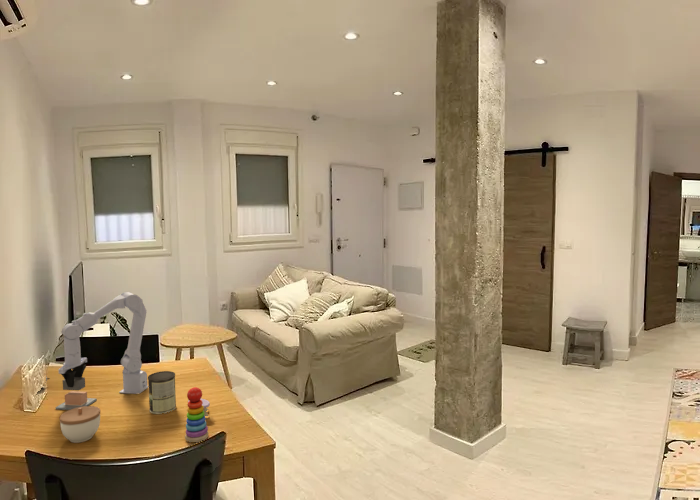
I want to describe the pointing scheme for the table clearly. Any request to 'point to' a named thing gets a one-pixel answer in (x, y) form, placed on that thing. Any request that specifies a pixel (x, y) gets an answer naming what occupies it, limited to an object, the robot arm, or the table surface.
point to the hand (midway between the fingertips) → (74, 384)
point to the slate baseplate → (69, 407)
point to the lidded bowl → (80, 423)
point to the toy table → (205, 406)
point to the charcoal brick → (75, 384)
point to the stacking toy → (195, 417)
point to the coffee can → (162, 392)
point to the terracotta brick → (75, 398)
